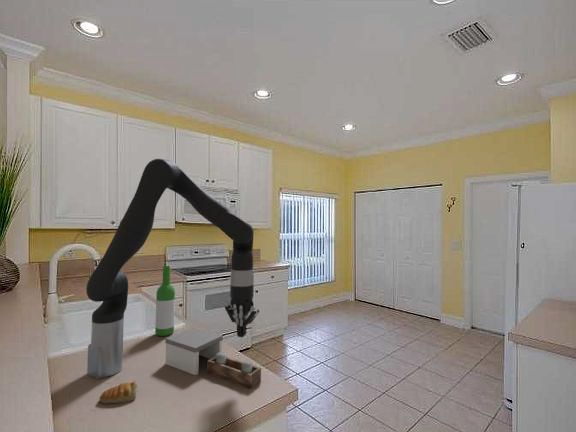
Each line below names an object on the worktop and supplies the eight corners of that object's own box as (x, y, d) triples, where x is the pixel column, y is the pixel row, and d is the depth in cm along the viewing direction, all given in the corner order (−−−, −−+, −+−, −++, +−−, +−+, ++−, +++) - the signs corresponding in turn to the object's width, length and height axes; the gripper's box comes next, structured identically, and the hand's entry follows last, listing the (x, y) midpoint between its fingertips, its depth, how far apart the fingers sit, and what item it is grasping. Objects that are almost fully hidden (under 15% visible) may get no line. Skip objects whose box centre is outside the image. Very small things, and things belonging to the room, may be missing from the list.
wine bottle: (169, 329, 140) (171, 264, 140) (176, 333, 134) (178, 266, 135) (152, 333, 134) (154, 266, 135) (159, 338, 129) (161, 268, 129)
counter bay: (194, 375, 99) (195, 348, 99) (164, 364, 106) (165, 338, 106) (222, 360, 110) (222, 335, 110) (193, 350, 118) (193, 327, 118)
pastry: (98, 409, 81) (98, 395, 81) (101, 396, 87) (101, 382, 87) (137, 401, 85) (137, 387, 85) (137, 389, 91) (137, 376, 91)
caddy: (260, 380, 97) (261, 361, 97) (250, 388, 92) (250, 369, 92) (218, 366, 106) (219, 348, 106) (207, 372, 101) (207, 354, 101)
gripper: (265, 283, 98) (264, 336, 98) (233, 279, 105) (233, 329, 105) (251, 287, 92) (250, 344, 92) (218, 282, 98) (218, 336, 98)
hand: (241, 336), depth 98 cm, fingers closed
